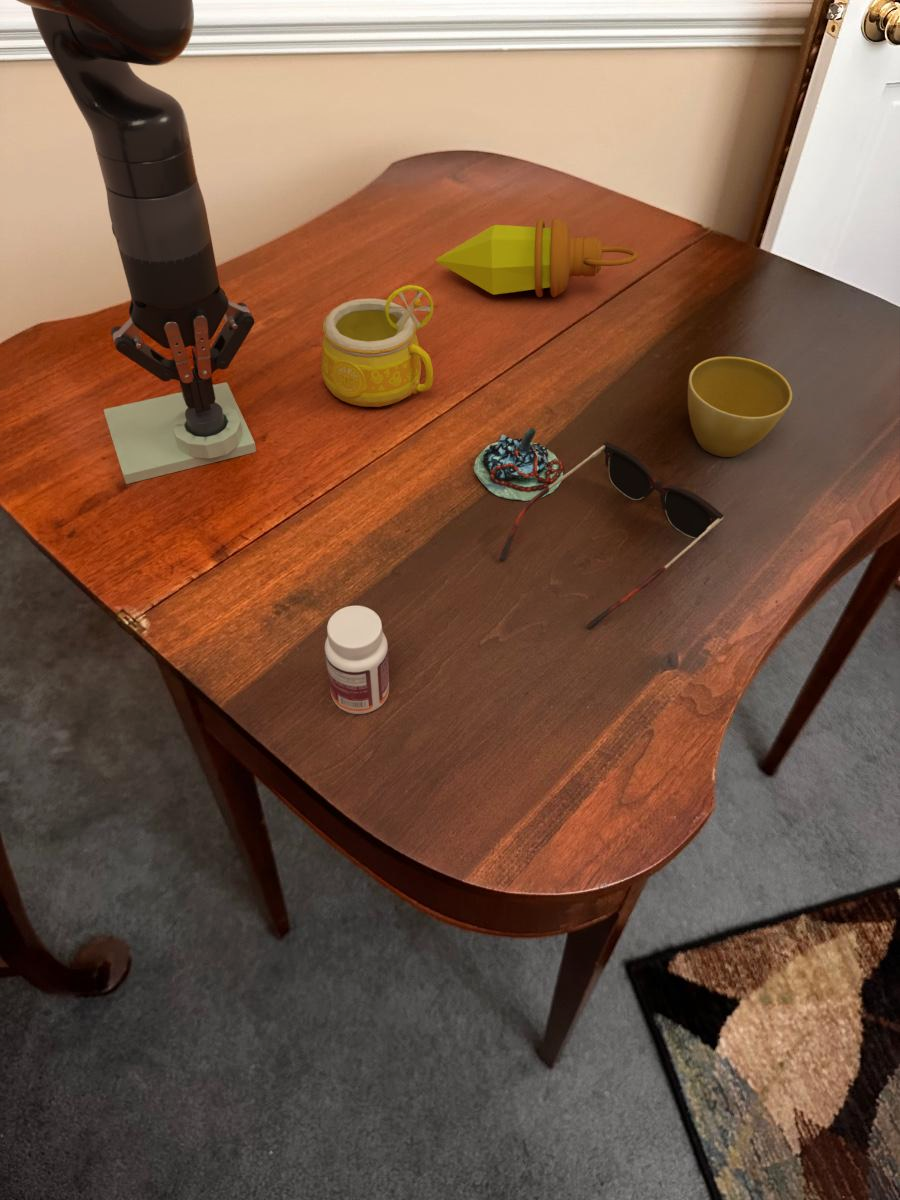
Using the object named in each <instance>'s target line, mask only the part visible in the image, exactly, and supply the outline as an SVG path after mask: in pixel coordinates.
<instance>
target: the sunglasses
mask: <svg viewBox="0 0 900 1200" xmlns="http://www.w3.org/2000/svg"><path fill="white" fill-rule="evenodd" d="M602 444H603V445H601V446H600V447H599V448H598V449H596V450H595V451H594V452H592V453H591V454H590V455H589V456H588V457H587V458H584V459H583V461H581V462H580V463H579V464H577V465H575V467H573V468H572V469H570V470H569V471H568V472H567V473H565V474H563V476H562V477H561V478H560V479H558V480H557V481H556V482H554V483H553V484H551V485H550V486H548V487H547V488H546V489H544V490H543V491H542V492H540V493H539V494H538V495H536V496H535V497H534V498H533V499H531V500H528V501H527V502H526V504H525V505H524V506H523V507H522V509H521V510H520V511H519V514H518V515H517V517H516V519H515V521H514V523H513V525H512V528H511V529H510V532H509V534H508V537H507V539H506V542H505V544H504V546H503V549H502V551H501V553H500V556H499V560H501V561H504V562H506V560H507V558H508V554H509V550H510V548H511V544H512V542H513V539H514V537H515V535H516V532H517V530H518V528H519V525H520V523H521V521H522V519H523V518H524V515H525V514H526V513H527V512H528V510H529V509H530V508H531V507H532V506H533V505H534V504H535V503H537V501H539V500H540V499H542V498H544V497H545V496H544V495H545V494H547V493H548V492H549V490H550V489H551V488H553V487H554V486H555V485H557V484H558V483H559V482H561V483H562V481H563V480H565V479H566V478H568V476H570V475H571V474H573V473H574V472H576V471H577V470H578V469H579V468H581V467H582V466H583V465H585V464H586V463H587V462H588V461H590V460H591V459H594V458H595V457H597V456H599V454H601V453H603V452H604V454H605V457H604V466H605V467H606V468H608V477H609V480H610V482H611V484H612V485H613V486H614V487H615V488H616V489H617V491H619V492H620V493H621V494H622V495H624V496H625V497H627V498H628V499H631V500H633V501H640V500H642V499H643V498H648V497H649V496H650V495H651V494H652V493H653V492H654V491H655V490H656V491H657V492H658V493H659V497H660V505H661V509H662V510H663V511H665V514H666V517H667V519H668V521H669V523H670V524H671V526H672V527H673V528H675V529H676V530H677V531H678V532H680V533H682V534H683V535H685V536H687V537H689V538H692V539H694V540H693V541H692V542H691V543H690V544H688V545H687V546H686V547H685V548H684V549H683V550H681V551H680V552H679V553H678V554H677V555H675V556H674V557H673V558H672V559H671V560H670V561H669V562H668V563H666V564H665V565H664V566H662V567H659V569H657V570H656V571H655V572H653V574H652V575H650V576H649V577H648V578H647V579H645V580H644V581H643V582H641V584H639V585H637V586H636V587H635V588H633V589H632V590H630V591H629V592H627V594H626V595H624V596H623V597H621V598H620V599H618V600H617V601H616V602H615V603H613V604H612V605H610V607H608V608H607V609H606V610H604V611H603V612H602V613H600V614H599V615H597V616H596V617H595V618H594V619H592V620H591V621H590V622H588V623H587V627H588V628H589V629H590V630H592V629H594V628H595V627H596V626H597V625H599V624H600V623H601V622H602V621H603V620H604V619H605V618H606V617H607V616H608V615H610V614H611V613H613V612H614V611H615V610H617V609H618V608H619V607H621V606H622V605H624V603H626V602H627V601H628V600H630V599H631V598H633V597H634V596H635V595H636V594H637V593H639V592H641V591H642V590H643V589H645V588H646V587H647V586H649V585H650V584H652V582H654V581H655V580H656V579H658V577H660V576H661V575H662V574H663V573H664V572H665V571H666V570H667V569H668V568H669V567H670V566H671V565H672V564H674V563H675V562H676V561H677V560H678V559H679V558H681V557H682V556H683V555H684V554H685V553H687V551H689V550H690V549H691V548H692V547H693V546H694V545H695V544H697V542H699V541H700V540H701V539H702V538H703V537H704V536H705V535H706V534H709V533H711V532H712V531H713V529H714V528H715V527H716V526H717V525H719V524H720V523H722V522H723V519H724V518H725V515H724V514H723V513H722V512H720V511H719V510H718V509H717V508H716V507H715V506H713V504H711V503H709V502H708V501H707V500H705V499H704V498H702V497H701V496H699V495H697V493H695V492H692V491H690V490H688V489H686V488H683V487H681V486H678V485H675V484H666V483H663V482H662V481H660V480H659V478H657V475H656V474H655V473H654V472H653V470H651V468H650V467H649V466H647V464H646V463H644V462H643V461H642V460H641V459H640V458H638V457H637V456H636V455H634V454H633V453H631V452H630V451H628V450H626V449H624V448H622V447H620V446H619V445H616V444H614V443H612V442H609V441H605V442H604V443H602ZM543 496H544V497H543ZM541 497H542V498H541Z"/></svg>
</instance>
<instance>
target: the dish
mask: <svg viewBox="0 0 900 1200" xmlns="http://www.w3.org/2000/svg"><path fill="white" fill-rule="evenodd" d="M536 432H537V430H536V429H535V428H534V427H531V428H530V429H527V430H525V433H524V436H523V437H522V438H513V439H512V438H510V437H509V436H506V435H505V434H501V435H500V437H499V441H497V442H492V443H491V444H488V445H487V446H486V447H485V448H483V450H482V451H481V452H480V454H478V456H477V457H476V459H475V461H474V466H473V471H474V474H475V476H476V478H477V479H478V480H479V481H480V482H481V483H482V485H483V486H484V487H485V488H487V490H488V491H489V492H491V493H492V494H493V495H495V496H496V497H499V498H500V497H501V498H503V499H508V500H519V501H523V502H525V501H527V502H528V501H530V500H531V499H533V498H534V497H535V496H536V495H538V494H539V493H540V492H542V491H543V490H544V489H546V488H547V487H548V486H550V485H551V484H553V483H554V482H556V481H557V480H558V479H560V478H561V477H562V476H564V471H563V469H564V465H563V464H562V461H561V460H559V459H558V458H557V456H556V455H555V453H554V452H552V451H551V450H549V449H548V447H546V446H545V445H542V444H541V443H540V442H537V443H536V442H532V441H533V439H534V436H535V434H536ZM561 484H562V481H561V482H559V483H558V484H557V485H555V486H554V487H553V488H551V489H550V490H549V492H548V493H547V494H545V495H544V496H543V497H541V498H540V499H542V498H544V497H547V496H548V495H550V494H552V493H553V492H555V490H556V489H557V488H559V486H560V485H561Z"/></svg>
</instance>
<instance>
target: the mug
mask: <svg viewBox="0 0 900 1200" xmlns="http://www.w3.org/2000/svg"><path fill="white" fill-rule="evenodd" d="M412 290H413V291H417V292H416V294H415V296H414V297H413V299H412V301H411V303H410V305H409V304H408V302H407V300H406V297H405V295H404V292H406V291H412ZM423 295H425V296H426V297H427V298H428V299H429V304H428V305H422V300H421V299H420V298H421V297H422V296H423ZM396 296H399V297H400V299H401V300H402V301H403V303H404V305H405V306H406V307H404V306H402V305H400V304H399V303H395V302H394V301H393V300H394V299H395V297H396ZM434 308H435V307H434V301H433V298H432V296H431V293H429V292H428V291H427V290H426V289H425V288H423V287H422V286H419V285H415V284H409V285H404V286H401V287H400V288H397V289H395V290H394V291H393V292H392V293H391V294H390V295H389V296H388V298H387V299H382V298H375V297H374V298H369V297H368V298H357V299H353V300H349V301H345V302H343V303H341V304H339V305H338V306H335V308H333V309H332V310H331V311H330V312H329V313H328V314H327V315H326V316H325V317H324V319H323V322H322V332H323V337H322V345H321V346H322V347H321V348H322V349H321V375H322V380H323V382H324V384H325V386H326V388H327V389H328V390H329V391H330V392H331V394H332V395H333V396H334V397H336V398H337V399H338V400H340V401H342V402H345V403H347V404H350V405H352V406H359V407H365V408H366V407H372V408H379V407H383V406H384V407H386V406H389V405H393V404H396V403H399V402H400V401H403V400H404V399H406V398H407V397H410V396H411V395H412V394H414V395H417V393H419V392H421V393H424V392H426V391H429V390H430V389H431V387H433V382H434V375H435V374H434V368H433V363H432V359H431V356H430V355H429V354H428V353H427V351H425V350H424V349H423V348H422V347H421V346H419V339H418V337H417V330H419V329H421V328H423V327H424V326H425V325H427V324H428V323H429V321H430V320H431V318H432V316H433V314H434V310H435V309H434ZM414 311H420V312H421V311H424V312H428V313H427V315H426V317H425V318H424V319H423V320H422V321H419V319H418V318H417V317H416V315H415V313H414ZM421 361H422V362H423V364H424V369H425V381H424V383H421V380H420V379H421V372H422V362H421Z"/></svg>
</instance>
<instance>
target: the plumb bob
mask: <svg viewBox="0 0 900 1200" xmlns="http://www.w3.org/2000/svg"><path fill="white" fill-rule="evenodd" d="M550 226H551V227H546V225H545V219H544V218H543V217H539V218H537V219H536V224H535V226H522V225H510V224H509V225H508V224H493V225H491V226H490V227H488V228H486V229H484V230H483V231H481V232H479V233H478V234H476V235H474V236H472V237H471V238H469V239H467V240H465V241H464V242H462V243H461V244H459V245H457V246H456V247H454V248H452V249H450V250H448V251H447V252H445V253H444V254H442V255H440V256H438V257H437V258H434V262H436V263H438V264H440V266H443V267H444V268H447V269H448V270H449V271H452V272H453V273H455V274H457V275H458V276H460V277H462V278H464V280H467V281H469V282H471V283H472V284H474V285H475V286H478V287H479V288H481V289H482V290H484V291H485V292H487V293H489V294H491V295H502V294H509V293H516V292H517V293H518V292H523V291H531V290H532V291H533V290H535V295H536V297H537V298H541V297H543V295H544V289H547V288H549V289H550V291H549V292H550V295H551V297H553V298H555V297H557V296H558V295H560V294H562V293H563V292H564V291H565V290H566V289H567V288H568V285H569V282H570V279H571V277H577V278H578V277H581V276H582V277H596V276H597V274H599V273H600V271H601V269H602V267H614V266H615V267H616V266H624V265H628V264H631V263H633V262H635V261H636V260H638V257H639V252H637V251H636V250H635V249H632V248H628V247H623V246H603V245H602V242H601V240H600V239H598V237H597V236H587V237H586V236H585V237H583V238H582V237H575V238H574V237H572V235H571V231H570V228H569V225H568V224H567V223H566V222H565V221H564V220H562V219H561V218H559V217H557V216H556V217H553V218H552V219H551V225H550ZM603 253H622V254H627V255H630V256H628V257H625V258H622V259H612V260H611V259H610V260H606V259H605V260H604V259H603Z"/></svg>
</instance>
